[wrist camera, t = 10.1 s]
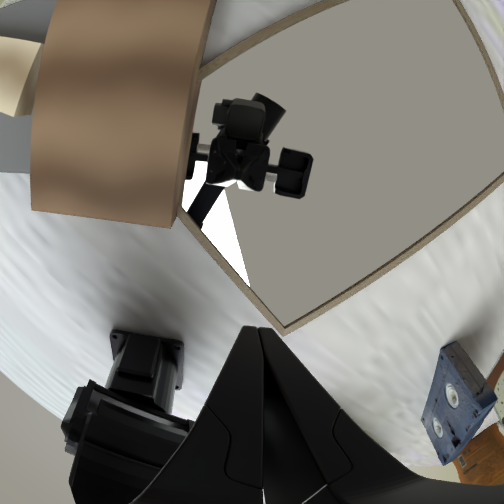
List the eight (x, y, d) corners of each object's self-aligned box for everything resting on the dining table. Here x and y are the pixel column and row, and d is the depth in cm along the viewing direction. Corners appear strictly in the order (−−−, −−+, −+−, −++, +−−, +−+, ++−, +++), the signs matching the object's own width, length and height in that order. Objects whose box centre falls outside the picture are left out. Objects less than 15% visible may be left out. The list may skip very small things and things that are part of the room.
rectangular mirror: (430, -29, 11) (119, 137, 17) (437, -32, 10) (114, 138, 16) (515, 161, 19) (281, 329, 24) (522, 164, 18) (282, 336, 23)
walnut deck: (177, 214, 19) (170, 228, 17) (49, 199, 18) (31, 210, 15) (221, -19, 12) (220, -35, 10) (81, -13, 11) (65, -23, 9)
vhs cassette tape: (433, 413, 35) (455, 459, 26) (417, 420, 35) (439, 468, 26) (459, 337, 27) (502, 395, 18) (440, 346, 27) (481, 409, 18)
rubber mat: (49, 172, 17) (45, 174, 16) (-24, 170, 15) (-28, 171, 15) (81, -13, 11) (77, -15, 10) (-2, 12, 10) (-7, 11, 9)
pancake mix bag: (443, 456, 50) (473, 533, 25) (500, 415, 46) (538, 487, 21) (445, 460, 53) (473, 531, 28) (499, 421, 49) (534, 489, 23)
